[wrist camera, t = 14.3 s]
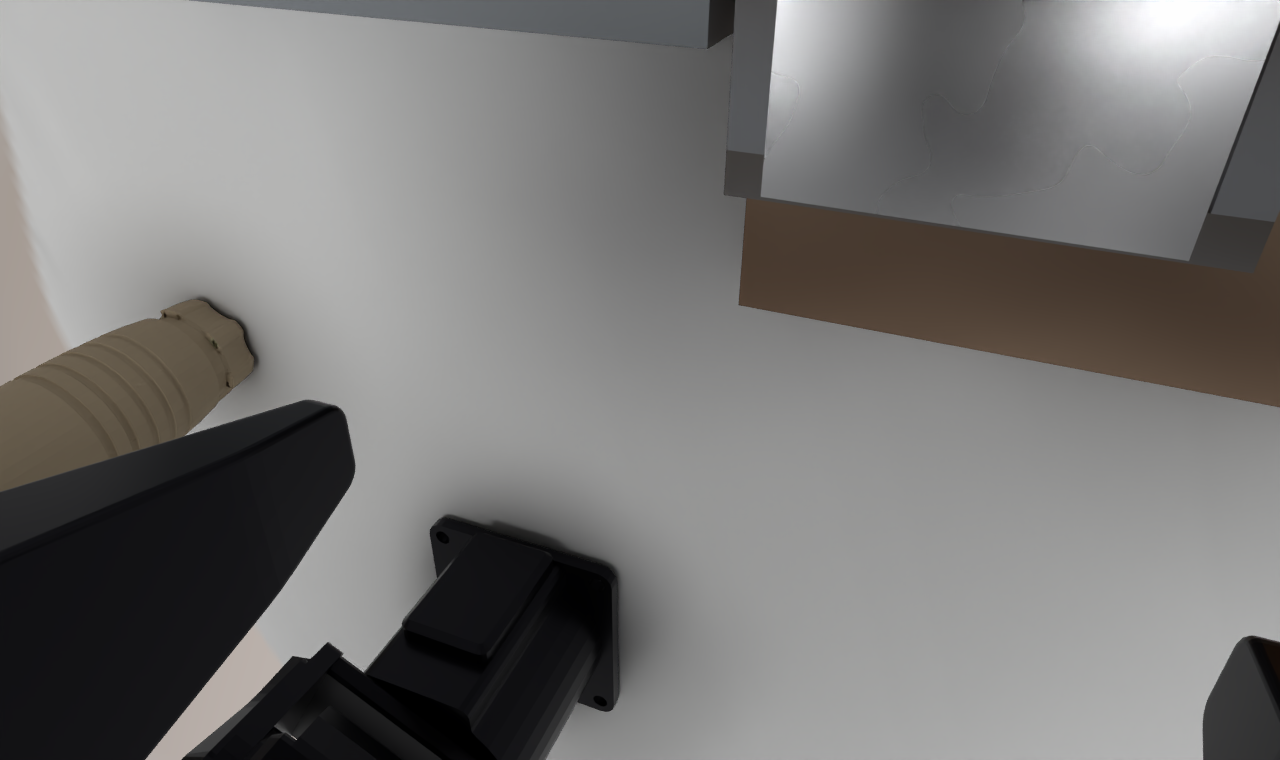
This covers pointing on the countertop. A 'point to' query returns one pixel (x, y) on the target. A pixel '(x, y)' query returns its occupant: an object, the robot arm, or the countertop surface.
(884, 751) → the countertop surface
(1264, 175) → the brown wood panel
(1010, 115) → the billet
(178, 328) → the handle
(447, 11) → the tote
